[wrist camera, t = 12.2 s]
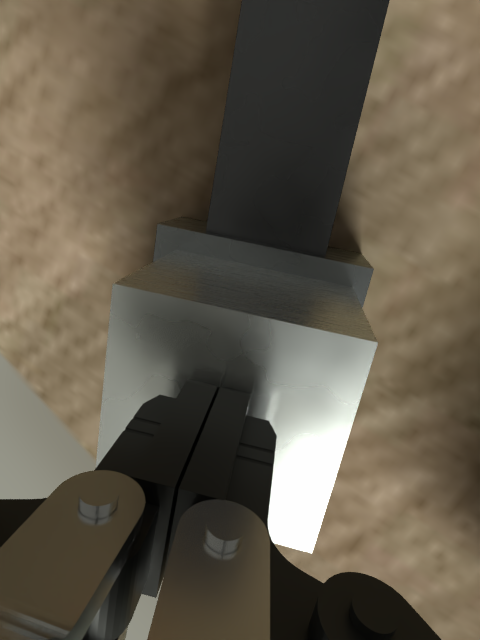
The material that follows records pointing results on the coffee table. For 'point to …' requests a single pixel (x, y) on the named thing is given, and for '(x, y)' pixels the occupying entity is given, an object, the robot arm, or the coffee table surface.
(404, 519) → the coffee table surface
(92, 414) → the coffee table surface
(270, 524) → the brushed grey cube
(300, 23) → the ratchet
